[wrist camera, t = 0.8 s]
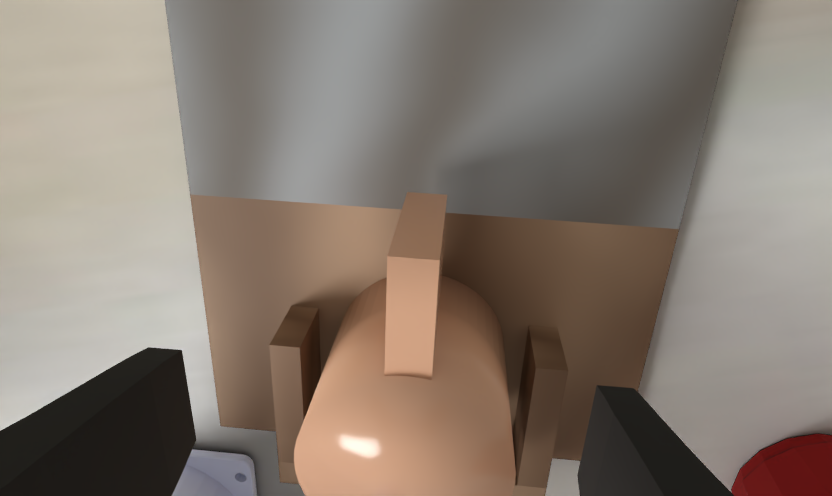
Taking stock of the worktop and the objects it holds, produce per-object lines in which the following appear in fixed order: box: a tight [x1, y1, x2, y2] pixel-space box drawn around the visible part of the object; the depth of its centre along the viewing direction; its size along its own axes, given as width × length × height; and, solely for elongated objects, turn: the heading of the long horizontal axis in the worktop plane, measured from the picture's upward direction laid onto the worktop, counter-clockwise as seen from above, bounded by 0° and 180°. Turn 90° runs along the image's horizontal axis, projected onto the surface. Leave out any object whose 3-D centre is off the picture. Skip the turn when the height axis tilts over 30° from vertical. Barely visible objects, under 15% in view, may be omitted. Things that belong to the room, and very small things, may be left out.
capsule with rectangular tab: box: [294, 192, 516, 496], centre depth 17 cm, size 6×9×6 cm, turn 178°
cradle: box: [165, 0, 738, 496], centre depth 18 cm, size 16×20×3 cm
